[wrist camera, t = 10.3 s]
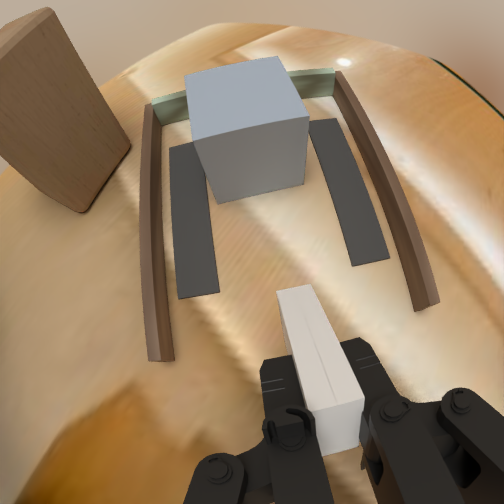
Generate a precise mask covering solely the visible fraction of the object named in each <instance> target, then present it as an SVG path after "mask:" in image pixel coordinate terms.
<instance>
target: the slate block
mask: <svg viewBox="0 0 504 504" xmlns="http://www.w3.org/2000/svg"><path fill="white" fill-rule="evenodd" d="M184 78H185V87H186V95H187V103H188V111H189V118H190V126H191V133H192V140H193V143H194V146H195V148H196V151H197V153H198V156H199V158H200V161H201V164H202V166H203V169H204V171H205V174H206V176H207V179H208V181H209V184H210V186H211V189H212V191H213V194H214V196H215V199H216V201H217V204H222V203H226V202H230V201H234V200H238V199H242V198H246V197H250V196H255V195H259V194H263V193H268V192H272V191H277V190H281V189H286V188H290V187H295V186H299V185H304V175H305V164H306V153H307V142H308V130H309V117H310V115H309V113H308V111H307V109H306V107H305V106H304V104H303V102H302V100H301V98H300V96H299V94H298V92H297V90H296V88H295V86H294V84H293V83H292V81H291V79H290V77H289V75H288V73H287V72H286V70H285V68H284V66H283V64H282V63H281V61H280V59H279V57H278V56H274V57H268V58H261V59H256V60H250V61H245V62H240V63H235V64H230V65H225V66H221V67H216V68H212V69H208V70H204V71H200V72H196V73H193V74H189V75H185V76H184Z"/></svg>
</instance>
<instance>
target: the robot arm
mask: <svg viewBox="0 0 504 504" xmlns="http://www.w3.org/2000/svg"><path fill="white" fill-rule="evenodd" d="M276 293H277V299H278V305H279V311H280V317H281V323H282V329H283V334H284V340H285V344H286V348H287V352H288V355H287V356H282V357H277V358H272V359H267V360H264V361H263V364H262V366H261V368H260V379H261V387H262V395H263V403H264V411H265V419H264V421H263V425H262V431H263V434H264V438H263V440H262V441H261V442H260V443H259V444H258V445H257V446H256V447H254V448H252V449H251V450H249V451H246V452H244V453H241V454H239V455H237V456H234V455H231V454H227V453H215V454H212V455H209V456H207V457H205V458H204V459H203V460H201V461H200V462H199V464H198V465H197V467H196V469H195V471H194V474H193V477H192V480H191V483H190V485H189V488H188V491H187V494H186V497H185V500H184V502H183V504H270V503H273V502H275V504H334V500H333V496H332V492H331V489H330V485H329V481H328V477H327V473H326V469H325V466H324V462H323V458H322V456H326V455H330V454H334V453H338V452H341V451H345V450H348V449H352V448H355V447H358V446H359V440H360V442H361V445H362V447H363V450H364V451H363V456H362V461H361V470H363V469H365V467H366V470H367V473H368V476H369V479H370V482H371V485H372V487H373V490H374V493H375V496H376V499H377V502H378V504H504V416H502V415H501V414H500V413H499V412H498V411H496V410H495V409H494V408H493V407H492V406H491V405H489V404H488V403H487V402H486V401H485V400H483V399H482V398H481V397H480V396H479V395H477V394H476V393H475V392H473V391H472V390H470V389H467V388H454V389H452V390H450V391H448V392H447V393H446V394H445V395H444V396H443V397H442V400H441V401H435V402H426V403H415V402H411V401H410V400H409V399H407V398H405V397H403V396H400V394H399V393H398V392H397V390H396V388H395V387H394V385H393V383H392V381H391V380H390V378H389V376H388V374H387V373H386V371H385V369H384V368H383V366H382V364H380V361H379V359H378V357H377V356H376V354H375V352H374V350H373V349H372V347H371V345H370V344H369V343H367V342H366V341H364V340H363V339H361V338H360V337H358V338H355V339H351V340H347V341H343V342H339V341H338V339H337V337H336V335H335V333H334V331H333V329H332V327H331V325H330V322H329V320H328V318H327V316H326V314H325V312H324V310H323V308H322V306H321V304H320V302H319V300H318V298H317V296H316V294H315V292H314V290H313V288H312V286H311V284H307V285H303V286H298V287H293V288H288V289H283V290H278V291H276Z"/></svg>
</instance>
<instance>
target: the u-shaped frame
mask: <svg viewBox="0 0 504 504" xmlns="http://www.w3.org/2000/svg"><path fill="white" fill-rule="evenodd" d="M287 73H288V75H289V77H290V79H291V81H292V83H293V84H294V86H295V88H296V90H297V92H298V94H299V96H300V98H310V97H321V96H332V95H333V97H334V99H335V101H336V103H337V105H338V107H339V108H340V110H341V112H342V114H343V116H344V118H345V121H346V123H347V125H348V127H349V129H350V131H351V133H352V135H353V137H354V139H355V142H356V144H357V146H358V148H359V150H360V153H361V155H362V157H363V160H364V162H365V164H366V167H367V169H368V171H369V174H370V176H371V179H372V181H373V183H374V186H375V188H376V191H377V194H378V196H379V199H380V201H381V204H382V207H383V209H384V212H385V215H386V218H387V221H388V223H389V226H390V229H391V232H392V235H393V238H394V241H395V244H396V247H397V250H398V254H399V257H400V260H401V263H402V267H403V270H404V274H405V277H406V281H407V284H408V288H409V292H410V295H411V299H412V303H413V307H414V311H415V312H416V311H420V310H423V309H426V308H428V307H430V306H433V305H435V304H437V303H440V298H439V294H438V291H437V287H436V283H435V280H434V276H433V273H432V270H431V266H430V263H429V260H428V257H427V254H426V251H425V248H424V245H423V242H422V239H421V236H420V233H419V230H418V228H417V225H416V222H415V219H414V217H413V214H412V212H411V209H410V206H409V204H408V201H407V199H406V197H405V194H404V192H403V189H402V187H401V185H400V182H399V180H398V178H397V175H396V173H395V171H394V169H393V167H392V164H391V162H390V160H389V158H388V156H387V154H386V152H385V150H384V148H383V146H382V144H381V142H380V140H379V138H378V136H377V134H376V132H375V130H374V128H373V126H372V124H371V122H370V120H369V118H368V117H367V115H366V113H365V111H364V109H363V108H362V106H361V104H360V102H359V101H358V99H357V97H356V95H355V94H354V92H353V90H352V89H351V87H350V85H349V84H348V82H347V80H346V79H345V77H344V76H343V74H342V72H341V71H334V69H333V68H323V69H309V70H298V71H289V72H287ZM185 119H189V111H188V103H187V95H186V90H184V91H180V92H176V93H173V94H169V95H165V96H162V97H158V98H155V99H152V103H150V104H147V105H145V111H144V122H143V134H142V149H141V168H140V206H139V227H140V266H141V285H142V300H143V313H144V324H145V335H146V344H147V352H148V361H155V362H165V361H175V358H174V351H173V343H172V335H171V327H170V318H169V309H168V298H167V288H166V276H165V262H164V247H163V228H162V200H161V126H163V125H166V124H170V123H174V122H178V121H181V120H185Z"/></svg>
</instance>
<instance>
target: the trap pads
mask: <svg viewBox="0 0 504 504" xmlns="http://www.w3.org/2000/svg"><path fill="white" fill-rule="evenodd" d="M308 132H309V134H310V137H311V140H312V142H313V145H314V148H315V150H316V153H317V156H318V159H319V162H320V164H321V167H322V170H323V173H324V176H325V179H326V182H327V185H328V188H329V191H330V194H331V197H332V200H333V203H334V206H335V209H336V213H337V216H338V219H339V222H340V226H341V229H342V232H343V236H344V239H345V243H346V246H347V250H348V253H349V257H350V260H351V264H352V266H357V265H362V264H366V263H371V262H375V261H380V260H384V259H389V258H390V256H389V252H388V249H387V246H386V243H385V240H384V237H383V234H382V230H381V228H380V225H379V222H378V219H377V216H376V213H375V210H374V207H373V205H372V202H371V199H370V197H369V194H368V191H367V189H366V186H365V183H364V181H363V178H362V176H361V173H360V171H359V168H358V166H357V164H356V161H355V159H354V156H353V154H352V152H351V149H350V147H349V145H348V143H347V140H346V138H345V136H344V134H343V131H342V129H341V127H340V125H339V123H338V121H337V119H336V118H332V119H323V120H314V121H309V130H308ZM169 163H170V195H171V216H172V233H173V247H174V260H175V272H176V283H177V293H178V299H183V298H189V297H195V296H201V295H207V294H213V293H219V292H220V290H219V283H218V276H217V269H216V261H215V254H214V246H213V238H212V230H211V222H210V214H209V205H208V196H207V188H206V178H205V171H204V169H203V166H202V164H201V161H200V158H199V156H198V153H197V151H196V148H195V146H194V143H193V142H191V143H187V144H182V145H178V146H174V147H171V148H169Z"/></svg>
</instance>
